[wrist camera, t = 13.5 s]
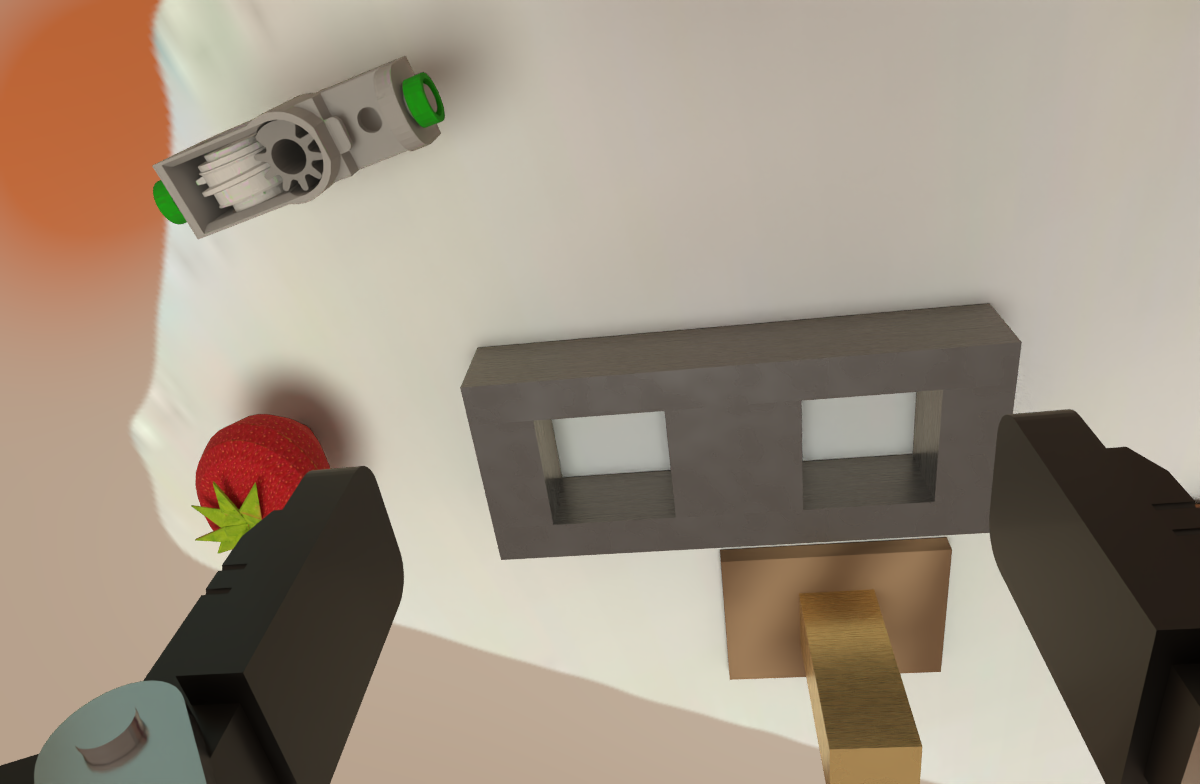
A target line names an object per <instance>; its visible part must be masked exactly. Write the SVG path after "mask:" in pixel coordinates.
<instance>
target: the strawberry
mask: <svg viewBox="0 0 1200 784" xmlns="http://www.w3.org/2000/svg"><path fill="white" fill-rule="evenodd" d="M322 469H330V466H329V464H328V461H327V459H326V457H325V454H324V452H323V449H322V447H321V445H320V443H319V441H318V440H317V438H316V437H315V436H314V434H313V432H312V431H311V429H310V428H309V427H307V426H306V425H303V424H301V423H299V422H297V421H295V420H292V419H289V418H285V417H279V416H274V415H268V414H257V415H252V416H248V417H246V418H244V419H242V420H240V421H238V422H235V423H233V424H231V425H229V426H227V427H225V428H223V429H221V430H219V431H218V432H217V433H216V434H215V435H214V436H213V437H212V438H211V439H210V441H209V442H208V444H207V446H206V448H205V450H204V452H203V454H202V457H201V459H200V461H199V464H198V467H197V471H196V490H197V496H198V499H199V502H200V505H201V506H193V505H191V506H192V507H193V508H195V509H196V510H197V511H199V512H200V513H202V514H203V515H204V516H205V518H206V519H207V521H208V523H209V525H210V527H211V528H212V529H213V532H210V533H208V534H206V535H204V536H201V537H199V538H197V539H196V540H198V541H215V542H221V544H220V547H219V550H218V553H222V552H225V551H228V550H232V549H233V548H234V547H235V545H236V544H237V543H238V541H239V540H240V538H241V537H242V536H243V535H244V534H245V533H246V532H248V531H249V530H250V529H251V528H252V527H254V526H255V525H256V524H257V523H259V522H260V521H261V520H262V519H263V518H265V517H266V516H267V515H268V514H269V513H271V512H272V511H273V510H282V509H283V508H284V506H285V505H286V503H287V502H288V500H289V499H290V497H291V495H292V494H293V492H294V491H295V489H296V488H297V486H298V485H299V483H300V481H301V480H302V478H303V477H304V476H305V474H306V473H308V472H309V471H312V470H322Z"/></svg>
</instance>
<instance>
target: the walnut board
mask: <svg viewBox="0 0 1200 784" xmlns="http://www.w3.org/2000/svg"><path fill="white" fill-rule="evenodd" d="M951 555H952V549H951V546H950V544H949V542H948V540H947V537H946V538H928V539H910V540H892V541H874V542H856V543H837V544H819V545H801V546H783V547H765V548H747V549H729V550H720V557H721V570H722V583H723V596H724V609H725V622H726V635H727V649H728V662H729V674H730V680H732V679H759V678H786V677H806V673H805V667H804V662H803V656H802V651H801V641H800V608H799V593H816V592H835V591H853V590H871V589H874V591H875V594H876V597H877V601H878V604H879V607H880V610H881V614H882V617H883V620H884V623H885V627H886V630H887V633H888V636H889V640H890V643H891V646H892V649H893V653H894V656H895V659H896V662H897V666H898V669H899V672H900V673H921V672H941V663H942V652H943V642H944V631H945V620H946V609H947V598H948V587H949V576H950V566H951Z"/></svg>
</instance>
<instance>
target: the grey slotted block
mask: <svg viewBox="0 0 1200 784" xmlns="http://www.w3.org/2000/svg"><path fill="white" fill-rule="evenodd" d="M1020 350H1021V341H1020V340H1019V338H1018V337H1017V336H1016V335H1015V334H1014V332H1013V331H1012V330H1011V329H1010V328H1009V326H1008V325H1007V324H1006V323H1005V322H1004V320H1003V319H1002V318H1001V317H1000V315H999V314H998V313H997V312H996V311H995V309H994V308H993V307H992V306H991V305H990V304H978V305H967V306H955V307H944V308H932V309H920V310H909V311H897V312H886V313H874V314H863V315H851V316H840V317H828V318H817V319H805V320H794V321H782V322H771V323H759V324H748V325H736V326H724V327H713V328H701V329H690V330H678V331H667V332H655V333H644V334H632V335H621V336H609V337H598V338H586V339H575V340H563V341H552V342H540V343H528V344H517V345H505V346H494V347H482V348H477V350H476V353H475V355H474V357H473V360H472V362H471V364H470V367H469V369H468V371H467V374H466V376H465V378H464V380H463V383H462V385H461V387H460V388H461V392H462V397H463V401H464V405H465V409H466V413H467V418H468V422H469V426H470V430H471V435H472V439H473V443H474V447H475V451H476V456H477V460H478V464H479V468H480V473H481V477H482V481H483V485H484V489H485V494H486V498H487V502H488V506H489V511H490V515H491V519H492V523H493V527H494V532H495V536H496V540H497V544H498V549H499V553H500V557H501V560H507V559H525V558H543V557H561V556H579V555H597V554H615V553H633V552H651V551H669V550H687V549H705V548H723V547H741V546H759V545H777V544H795V543H813V542H831V541H849V540H867V539H885V538H903V537H921V536H939V535H957V534H975V533H990V530H989V514H990V503H991V493H992V482H993V472H994V462H995V451H996V441H997V432H998V426H999V423H1000V420H1001V418H1002V417H1003V416H1004V415H1007V414H1013V407H1014V399H1015V391H1016V383H1017V375H1018V367H1019V358H1020ZM906 392H917V393H916V410H915V427H914V443H913V454H909V455H894V456H879V457H864V458H849V459H834V460H819V461H804V462H802V415H801V400H814V399H827V398H840V397H853V396H867V395H880V394H893V393H906ZM655 411H665V418H666V428H667V437H668V447H669V456H670V465H671V470H670V471H655V472H640V473H625V474H610V475H595V476H580V477H565V478H562V474H561V469H560V463H559V458H558V452H557V447H556V441H555V436H554V430H553V425H552V419H562V418H575V417H588V416H602V415H615V414H628V413H641V412H655Z"/></svg>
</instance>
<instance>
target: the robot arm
mask: <svg viewBox="0 0 1200 784" xmlns="http://www.w3.org/2000/svg"><path fill="white" fill-rule="evenodd" d="M989 530H990V539H991V545H992V550H993V554H994V557H995V561H996V563H997V566H998V568H999V571H1000V573H1001V575H1002V577H1003V579H1004V581H1005V583H1006V585H1007V587H1008V589H1009V591H1010V593H1011V595H1012V597H1013V599H1014V601H1015V603H1016V605H1017V607H1018V609H1019V611H1020V613H1021V615H1022V617H1023V619H1024V621H1025V623H1026V625H1027V627H1028V629H1029V631H1030V633H1031V635H1032V637H1033V639H1034V641H1035V643H1036V645H1037V647H1038V649H1039V651H1040V653H1041V655H1042V657H1043V659H1044V661H1045V663H1046V665H1047V667H1048V669H1049V671H1050V673H1051V675H1052V677H1053V679H1054V681H1055V683H1056V685H1057V687H1058V689H1059V691H1060V693H1061V695H1062V697H1063V699H1064V701H1065V703H1066V705H1067V707H1068V709H1069V711H1070V713H1071V715H1072V717H1073V719H1074V721H1075V723H1076V725H1077V727H1078V729H1079V731H1080V733H1081V735H1082V737H1083V739H1084V741H1085V743H1086V745H1087V747H1088V749H1089V751H1090V753H1091V755H1092V757H1093V759H1094V761H1095V763H1096V765H1097V767H1098V769H1099V771H1100V773H1101V775H1102V777H1103V779H1104V781H1105V784H1200V507H1199V508H1196V506H1195V501H1194V500H1193V499H1192V497H1191V496H1190V495H1189V494H1188V493H1187V492H1186V491H1185V489H1184V488H1183V487H1182V486H1181V485H1180V484H1179V483H1178V482H1177V480H1176V479H1175V478H1174V477H1173V476H1172V475H1171V474H1170V473H1169V471H1167V470H1165V469H1164V468H1162V467H1160V466H1159V465H1157V464H1155V463H1153V462H1152V461H1150V460H1148V459H1146V458H1145V457H1143V456H1141V455H1140V454H1138V453H1136V452H1134V451H1133V450H1131V449H1129V448H1127V447H1118V448H1105V446H1104V445H1103V444H1102V443H1101V441H1100V440H1099V439H1098V438H1097V436H1096V435H1095V434H1094V433H1093V432H1092V430H1091V429H1090V428H1089V427H1088V425H1087V424H1086V423H1085V422H1084V420H1083V419H1082V418H1081V417H1080V415H1079V414H1078V413H1077V412H1075V411H1074V410H1071V409H1068V410H1056V411H1044V412H1032V413H1019V414H1007V415H1004V416H1003V417H1002V418H1001V420H1000V423H999V426H998V432H997V441H996V451H995V462H994V472H993V482H992V493H991V503H990V514H989ZM403 584H404V571H403V562H402V557H401V553H400V550H399V547H398V544H397V541H396V538H395V535H394V532H393V529H392V526H391V523H390V520H389V517H388V514H387V511H386V508H385V505H384V502H383V499H382V496H381V493H380V490H379V487H378V484H377V481H376V478H375V476H374V474H373V473H372V471H371V470H370V469H369V468H368V467H365V466H359V467H346V468H334V469H322V470H312V471H309V472H308V473H306V474H305V476H304V477H303V478H302V480H301V481H300V483H299V485H298V486H297V488H296V489H295V491H294V492H293V494H292V495H291V497H290V499H289V500H288V502H287V503H286V505H285V506H284V508H283V509H282V510H273V511H272V512H271V513H269V514H268V515H267V516H266V517H265V518H263V519H262V520H261V521H260V522H259V523H257V524H256V525H255V526H254V527H252V528H251V529H250V530H249V531H248V532H246V533H245V534H244V535H243V536H242V537H241V538H240V540H239V541H238V543H237V544H236V545H235V547H234V548H233V550H232V551H231V553H230V554H229V556H228V557H227V559H226V560H225V562H224V563H223V565H222V571H218V572H217V573H216V575H215V576H214V578H213V579H212V581H211V582H210V584H209V585H208V587H207V588H206V595H201V597H200V598H199V600H198V601H197V603H196V604H195V606H194V607H193V609H192V610H191V612H190V613H189V614H188V616H187V617H186V619H185V621H184V622H183V623H182V625H181V626H180V628H179V629H178V631H177V632H176V634H175V635H174V637H173V638H172V639H171V641H170V642H169V644H168V645H167V647H166V648H165V650H164V651H163V653H162V654H161V656H160V657H159V659H158V660H157V661H156V663H155V664H154V666H153V667H152V669H151V670H150V672H149V673H148V675H147V676H146V678H145V679H144V681H140V682H136V683H131V684H127V685H124V686H121V687H118V688H116V689H113V690H111V691H109V692H106V693H104V694H102V695H100V696H99V697H97V698H95V699H93V700H92V701H90V702H88V703H87V704H85V705H84V706H83V707H81V708H79V709H78V710H77V711H76V712H74V713H73V714H72V715H70V716H69V717H68V718H67V719H66V720H65V721H64V722H63V723H62V724H61V725H60V726H59V727H58V728H57V729H56V730H55V731H54V733H52V735H51V736H50V737H49V739H48V740H47V741H46V743H45V744H44V746H43V748H42V750H41V751H40V753H39V754H37V755H34V756H30V757H27V758H24V759H20V760H17V761H14V762H11V763H8V764H4V765H1V766H0V784H330V782H331V779H332V777H333V774H334V772H335V769H336V767H337V764H338V761H339V759H340V756H341V753H342V751H343V749H344V746H345V743H346V741H347V738H348V736H349V733H350V730H351V728H352V725H353V723H354V720H355V718H356V715H357V712H358V710H359V707H360V705H361V702H362V700H363V697H364V694H365V692H366V689H367V687H368V684H369V681H370V679H371V676H372V674H373V671H374V668H375V666H376V664H377V660H378V658H379V656H380V653H381V651H382V648H383V645H384V643H385V640H386V638H387V635H388V633H389V630H390V627H391V625H392V622H393V620H394V617H395V615H396V612H397V609H398V607H399V604H400V601H401V598H402V593H403Z"/></svg>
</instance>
